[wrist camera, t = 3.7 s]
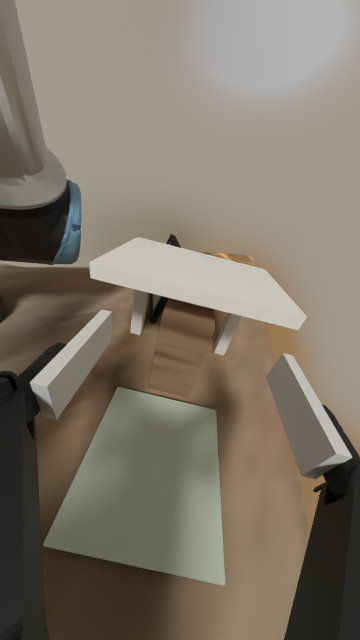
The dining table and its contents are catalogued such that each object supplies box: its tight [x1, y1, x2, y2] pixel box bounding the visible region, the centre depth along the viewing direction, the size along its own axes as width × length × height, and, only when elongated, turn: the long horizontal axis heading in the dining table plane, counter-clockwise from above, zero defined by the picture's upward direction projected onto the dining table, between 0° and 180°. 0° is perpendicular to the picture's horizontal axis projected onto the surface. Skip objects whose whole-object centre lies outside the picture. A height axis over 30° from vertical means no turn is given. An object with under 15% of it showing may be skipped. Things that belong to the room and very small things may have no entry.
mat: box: [43, 387, 225, 585], centre depth 20 cm, size 14×14×1 cm
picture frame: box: [149, 234, 181, 324], centre depth 47 cm, size 23×9×15 cm, turn 8°
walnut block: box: [148, 298, 215, 397], centre depth 27 cm, size 9×6×13 cm, turn 174°
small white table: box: [90, 237, 307, 356], centre depth 27 cm, size 14×20×18 cm
